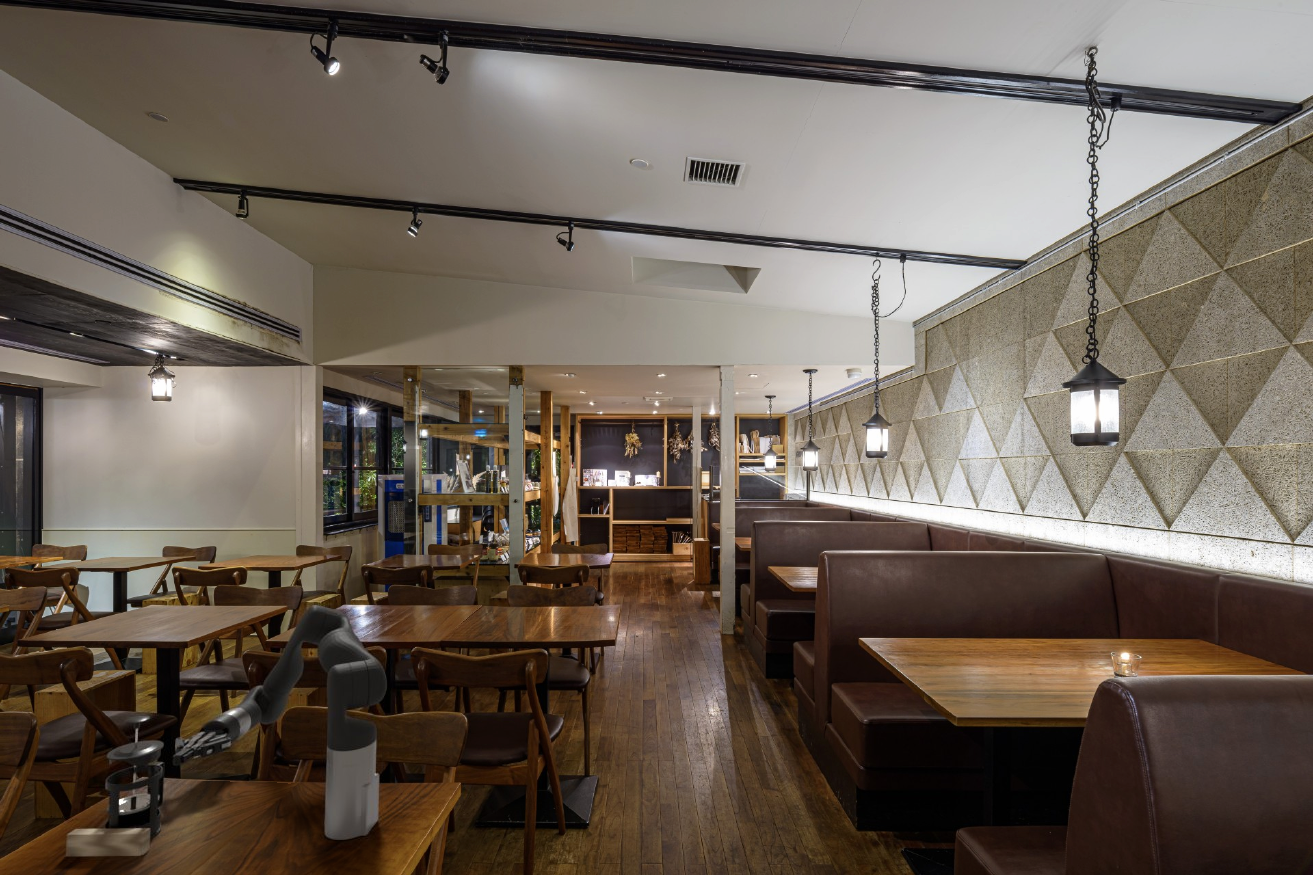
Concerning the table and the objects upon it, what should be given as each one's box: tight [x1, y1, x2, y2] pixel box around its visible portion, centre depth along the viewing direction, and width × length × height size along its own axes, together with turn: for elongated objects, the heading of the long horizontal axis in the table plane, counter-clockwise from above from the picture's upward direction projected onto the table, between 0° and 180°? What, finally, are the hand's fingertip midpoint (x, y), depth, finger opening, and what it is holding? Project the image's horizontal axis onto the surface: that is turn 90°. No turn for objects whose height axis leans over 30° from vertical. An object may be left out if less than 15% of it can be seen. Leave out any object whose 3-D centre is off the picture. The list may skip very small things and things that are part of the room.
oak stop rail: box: [65, 827, 151, 857], centre depth 126 cm, size 14×2×4 cm, turn 92°
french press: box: [103, 715, 165, 840], centre depth 133 cm, size 12×9×23 cm
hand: (176, 760), depth 145 cm, fingers closed
